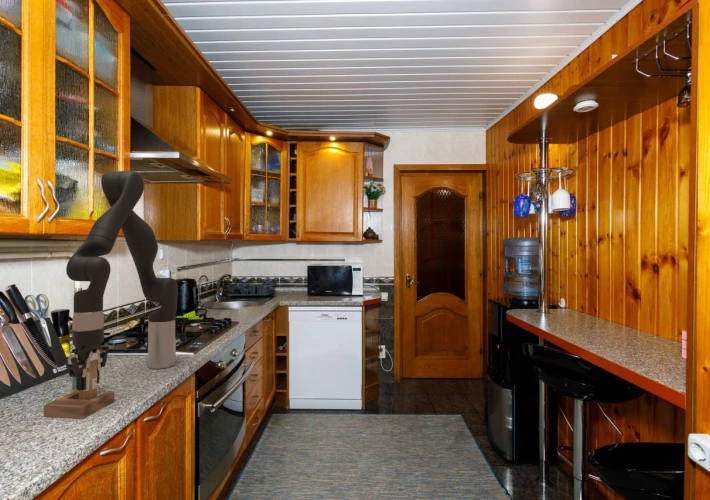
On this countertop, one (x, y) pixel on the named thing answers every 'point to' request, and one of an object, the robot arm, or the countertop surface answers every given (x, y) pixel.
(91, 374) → the sprinkles bottle
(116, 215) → the robot arm
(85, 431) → the countertop surface
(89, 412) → the c-shaped block
